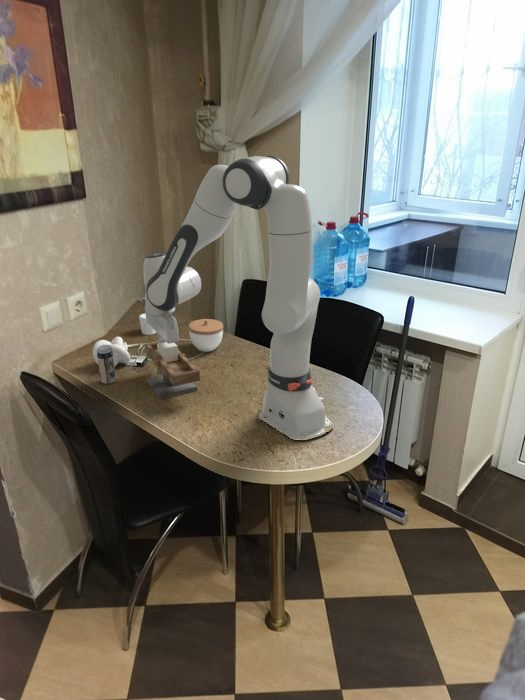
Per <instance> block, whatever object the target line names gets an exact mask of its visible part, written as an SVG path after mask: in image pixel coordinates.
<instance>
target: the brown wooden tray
mask: <svg viewBox="0 0 525 700" xmlns="http://www.w3.org/2000/svg"><path fill="white" fill-rule="evenodd" d="M157 343H159V341H155V342H152V343H151V342H150V343H147V344H145V345H144V346H145V347H144V349H145V354H146V355H147V356H148V358H149V359H150V360H151V361H152V362H153V364H154V365H155V366H156V367H157V368H156V372H157V375H161V376H155V377H153V378H148V379H147V382H148V384H149V385H150V387H151V388H152V389H153V391H154V392H155V393H156V395H157V396H158V397H159V398H160V400H164V399H168V398H172V397H176V396H180V395H184V394H188V393H191V392H196V391H198V390H199V389H198V385H196V384H195V382H199V381H201V378H200V377H201V376H200V375H201V374H200V369H198V367H196V366H195V365H194V364H193V363H192V362H191V360H189V359H188V358H187V357H186V354H185V353H183V352H181V351H180V350H179V349H178V360H177V361H172V362H168V363H166V362H165V361H164V360H163V359H162V358H161V357H160V356H159V355H158V350H157Z"/></svg>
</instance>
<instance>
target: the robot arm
mask: <svg viewBox="0 0 525 700" xmlns="http://www.w3.org/2000/svg"><path fill="white" fill-rule="evenodd" d="M290 175H291V174H290V171H289V168H288V166H287V165H286V163H285V162H284V161H283V160H281V159H280V158H277V157H275V156H271V155H267V156H261V155H253V156H249V157H245V158H240V159H237V160H235V161H234V162H232V163H230V164H229V165H226V164H215V165H213V166H212V167H211V168H210V169H208V171H207V172H206V174H205V175H204V177H203V179H202V180H201V183H200V185H199V187H198V189H197V191H196V194H195V196H194V198H193V202H192V204H191V206H190V208H189V210H188V212H187V215H186V217H185V219H184V221H183V223H182V224H181V226H180V228H179V229H178V231H177V233H176V234H175V236H174V238H173V240H172V241H171V244H170V245H169V247H168V248H167V249H168V250H167V252H157V253H152V254H149V255H147V256H146V257H145V258H144V260H143V266H142V270H143V285H144V287H145V293H144V297H142V298H141V300H142V305H144V313H145V315H146V320H147V323H148V324H149V325H150V326H151V327H152V328H153V329H154V330H155V331H156V335H157V338H158V342H164V341H166V342H167V343H168V344H169V343H175V344H176V343H177V342H179V340H180V338H179V327H178V322H177V318H176V317H175V316H173V313H174V311H176V307H177V306H178V305H180V304H183V303H184V302H187V301H189V300H191V299H192V298H195V297H196V296H197V295H199V293H200V292H201V291H202V286H203V283H202V281H203V280H202V277H201V276H200V273H199V272H198V271H197V270H196V268H193V267H191V266H188V264H189V263H190V261H191V259H193V257H194V255H195V254H196V253H198V252H199V251H200V250H201V249H203V248H204V247H206V246H208V245H209V244H211V243H212V242H215V240H218V239H219V238H220V237H221V236H222V235H224V233H225V231H226V230H227V229H228V227H229V225H230V223H231V221H232V219H233V217H234V214H235V212H236V209H237V207H238V205H240V206H244V207H248V208H251V209H253V210H256V211H259V210H261V209H263V210H264V213H266V218H267V219H266V220H267V236H268V240H267V241H268V254H269V255H268V257H269V258H268V259H269V260H268V261H269V263H268V273H267V274H268V275H267V284H266V290H265V291H266V292H265V299H264V303H263V307H262V311H261V320H262V322H263V325H264V326H265V327H266V328H267V329H268V330H269V331H270V332H272V333H273V335H272V338H271V341H270V351H269V352H270V353H269V366H268V368H267V381H268V383H267V386H266V388H265V390H264V392H263V393H264V394H263V401H262V409H261V411H260V413H259V414H258V419H259V420H260V419H261V420H263V421H264V422H266V423H267V424H269V425H270V426H272V427H274V428H276V429H277V430H279V431H281V432H282V433H284V434H286V435H287V436H289V437H291V438H293V439H305V438H309V437H313V436H316V435H318V434H320V433H323V432H325V431H324V430H325V429H323V427H325V426H329V424H330V423H331V424H333V422H332V421H331V420H330V419H329V418H328V417H327V414H326V407H325V406H324V404H325V399H324V397H322V396H319V395H318V393H317V391H316V389H315V387H314V385H313V383H315V382H314V380H315V378H312V373H311V370H310V369H311V368H310V357H311V356H310V355H311V345H312V341H313V340H312V338H313V334H314V330H315V325H316V319H317V314H318V309H319V308H318V307H319V302H320V297H321V290H320V286H319V285H318V284H317V283H316V281H315V280H314V279H312V278H310V273H311V267H312V264H313V231H312V230H313V225H312V214H311V212H312V211H311V207H310V202H309V198H308V193H307V192H306V190H305V189H304V187H303V188H302V187H301V186H299V185H296V184H293V183H292V184H290V178H291V177H290ZM261 420H260V421H261ZM327 420H328V421H327ZM263 421H262V422H263ZM264 422H263V423H264ZM266 423H265V424H266ZM267 424H266V425H267ZM326 424H327V425H326ZM331 424H330V425H331ZM269 425H268V426H269ZM270 426H269V427H270ZM272 427H271V428H272ZM274 428H273V429H274ZM277 430H276V431H277ZM301 436H304V437H301Z"/></svg>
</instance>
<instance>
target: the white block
mask: <svg viewBox="0 0 525 700" xmlns="http://www.w3.org/2000/svg"><path fill="white" fill-rule="evenodd" d="M158 342H159V341H158ZM157 350H158V355H159V356H160V357H161V358H162V359H163V360H164V361H165V362H166V363H168V362H172V361H177V360H178V350H179V349H178V345H177V344H176V342H175V343H169V344H168V343H167V342H166V341H164V342H159V343H157Z"/></svg>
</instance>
